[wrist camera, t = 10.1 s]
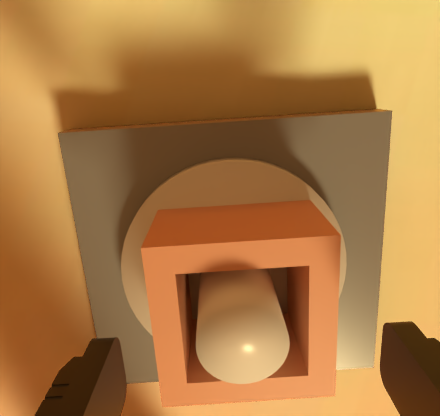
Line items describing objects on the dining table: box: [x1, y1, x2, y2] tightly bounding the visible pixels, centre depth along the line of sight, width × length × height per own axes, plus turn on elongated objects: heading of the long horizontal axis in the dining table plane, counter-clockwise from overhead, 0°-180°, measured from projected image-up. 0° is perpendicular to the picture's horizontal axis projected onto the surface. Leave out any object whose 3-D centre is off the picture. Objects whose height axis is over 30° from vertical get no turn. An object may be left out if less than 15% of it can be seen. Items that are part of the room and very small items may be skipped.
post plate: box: [58, 109, 392, 384], centre depth 16 cm, size 14×13×8 cm
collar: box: [141, 200, 341, 407], centre depth 15 cm, size 6×6×4 cm
